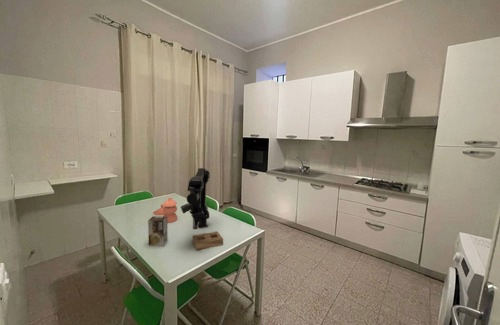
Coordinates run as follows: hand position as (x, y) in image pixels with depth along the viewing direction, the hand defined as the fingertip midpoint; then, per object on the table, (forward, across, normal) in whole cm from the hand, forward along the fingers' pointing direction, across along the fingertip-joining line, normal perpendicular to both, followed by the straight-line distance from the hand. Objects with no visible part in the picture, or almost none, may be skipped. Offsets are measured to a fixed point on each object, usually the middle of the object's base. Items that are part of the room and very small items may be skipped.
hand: (195, 224), depth 122 cm
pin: (+2, 0, 0) cm, 3 cm away
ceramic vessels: (+12, -51, -15) cm, 55 cm away
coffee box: (+12, -7, -20) cm, 25 cm away
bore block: (+12, +2, +7) cm, 14 cm away
